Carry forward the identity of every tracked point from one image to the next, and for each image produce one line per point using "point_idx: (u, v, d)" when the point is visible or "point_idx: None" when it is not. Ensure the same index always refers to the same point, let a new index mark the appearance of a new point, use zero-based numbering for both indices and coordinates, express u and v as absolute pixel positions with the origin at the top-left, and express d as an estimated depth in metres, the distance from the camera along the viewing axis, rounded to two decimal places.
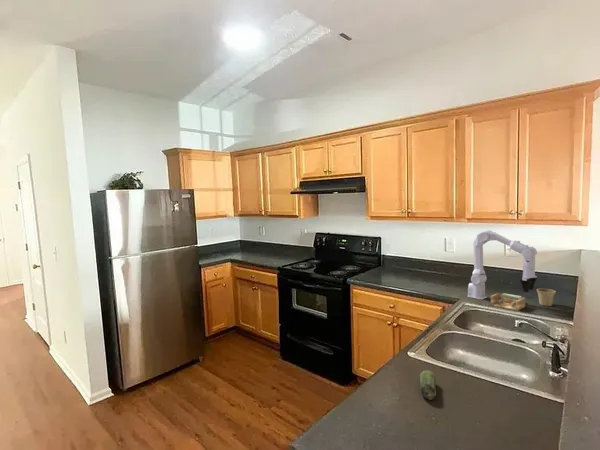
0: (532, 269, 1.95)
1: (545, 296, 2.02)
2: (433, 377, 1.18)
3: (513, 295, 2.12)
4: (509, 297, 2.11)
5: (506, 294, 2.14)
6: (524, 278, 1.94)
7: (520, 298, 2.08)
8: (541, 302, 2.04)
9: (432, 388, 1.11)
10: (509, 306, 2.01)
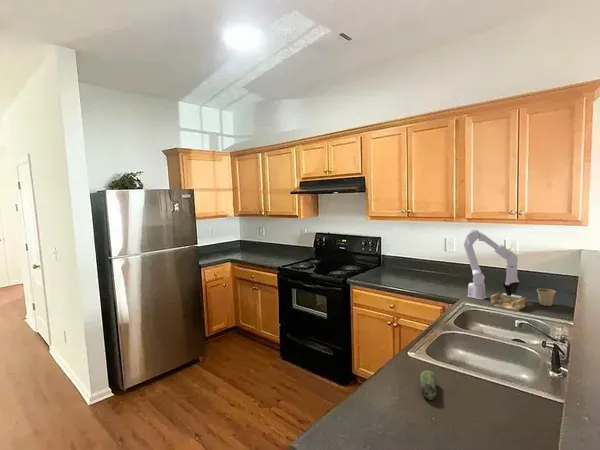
0: (514, 274, 2.08)
1: (545, 296, 2.02)
2: (433, 377, 1.18)
3: (513, 295, 2.12)
4: (509, 297, 2.10)
5: (506, 294, 2.14)
6: (507, 283, 2.07)
7: (520, 298, 2.08)
8: (541, 302, 2.04)
9: (432, 388, 1.11)
10: (509, 306, 2.01)
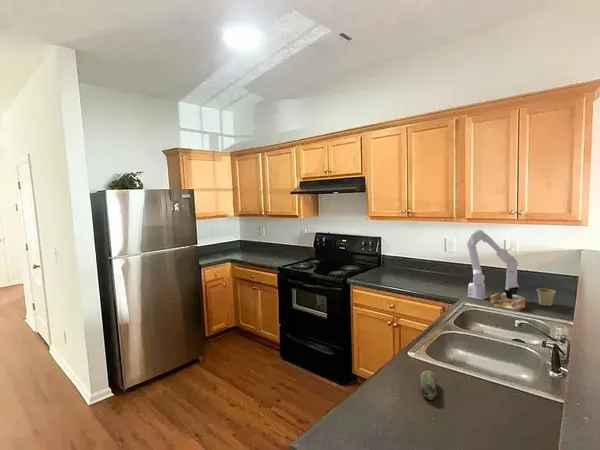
0: (514, 279, 2.08)
1: (545, 296, 2.02)
2: (434, 377, 1.18)
3: (513, 295, 2.12)
4: None
5: None
6: (507, 287, 2.07)
7: (520, 298, 2.08)
8: (541, 302, 2.04)
9: (432, 388, 1.11)
10: (509, 306, 2.01)
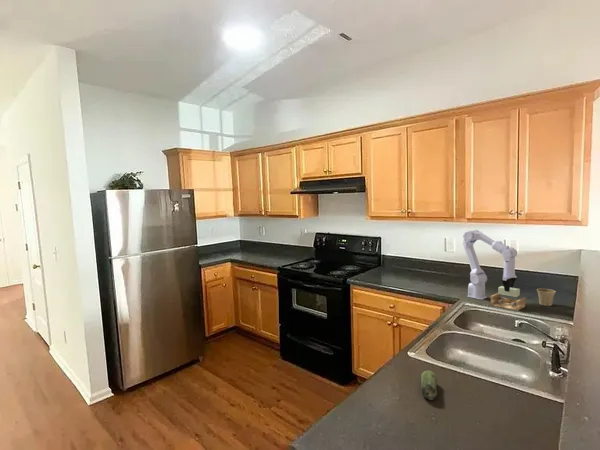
0: (512, 269, 2.01)
1: (545, 296, 2.02)
2: (434, 377, 1.18)
3: (511, 288, 2.05)
4: None
5: None
6: (504, 278, 2.00)
7: (518, 290, 2.01)
8: (541, 302, 2.04)
9: (432, 388, 1.11)
10: (509, 306, 2.01)
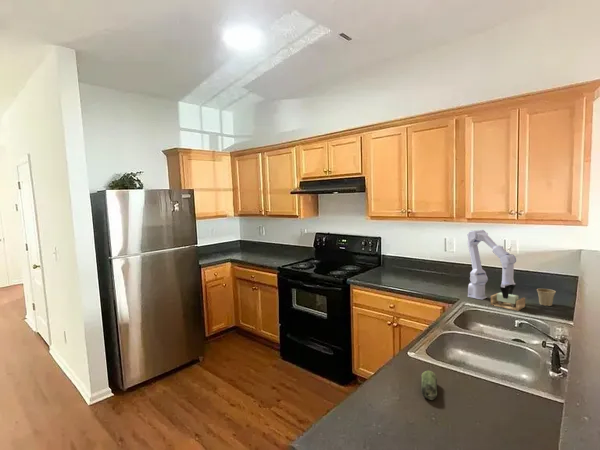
0: (510, 276, 1.99)
1: (545, 296, 2.02)
2: (434, 377, 1.18)
3: (510, 294, 2.03)
4: None
5: None
6: (502, 285, 1.97)
7: (517, 297, 1.99)
8: (541, 302, 2.04)
9: (432, 388, 1.11)
10: (509, 306, 2.01)
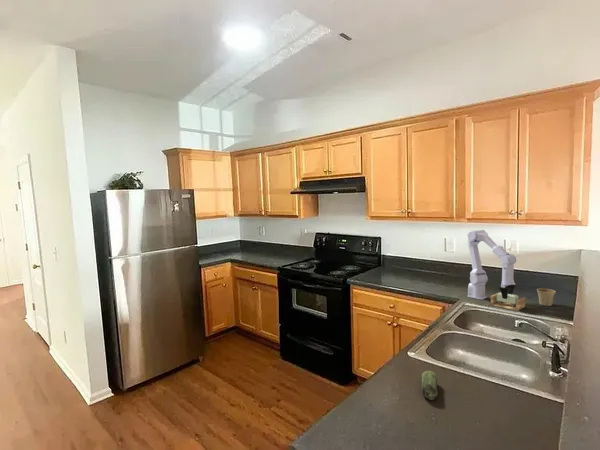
0: (510, 276, 1.99)
1: (545, 296, 2.02)
2: (435, 377, 1.18)
3: (510, 294, 2.03)
4: None
5: None
6: (502, 285, 1.98)
7: (517, 297, 1.99)
8: (541, 302, 2.04)
9: (433, 388, 1.11)
10: (509, 306, 2.01)
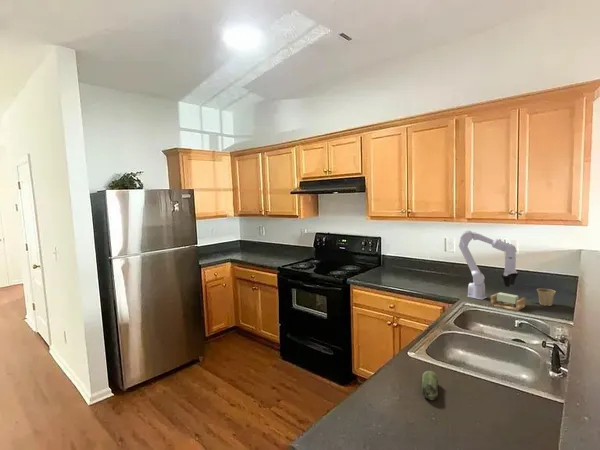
0: (513, 265, 2.08)
1: (545, 296, 2.02)
2: (435, 378, 1.18)
3: (510, 294, 2.03)
4: (505, 296, 2.01)
5: (502, 293, 2.05)
6: (505, 273, 2.07)
7: (517, 297, 1.99)
8: (541, 302, 2.04)
9: (433, 388, 1.11)
10: (509, 306, 2.01)
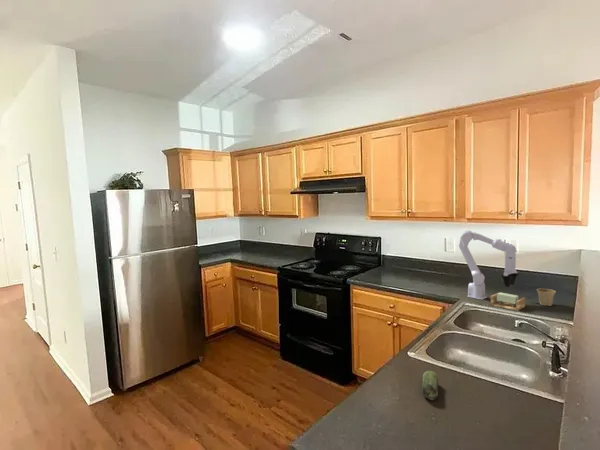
0: (513, 265, 2.08)
1: (545, 296, 2.02)
2: (436, 378, 1.18)
3: (510, 294, 2.03)
4: (505, 296, 2.01)
5: (502, 293, 2.05)
6: (505, 273, 2.07)
7: (517, 297, 1.99)
8: (541, 302, 2.04)
9: (433, 388, 1.11)
10: (509, 306, 2.01)
